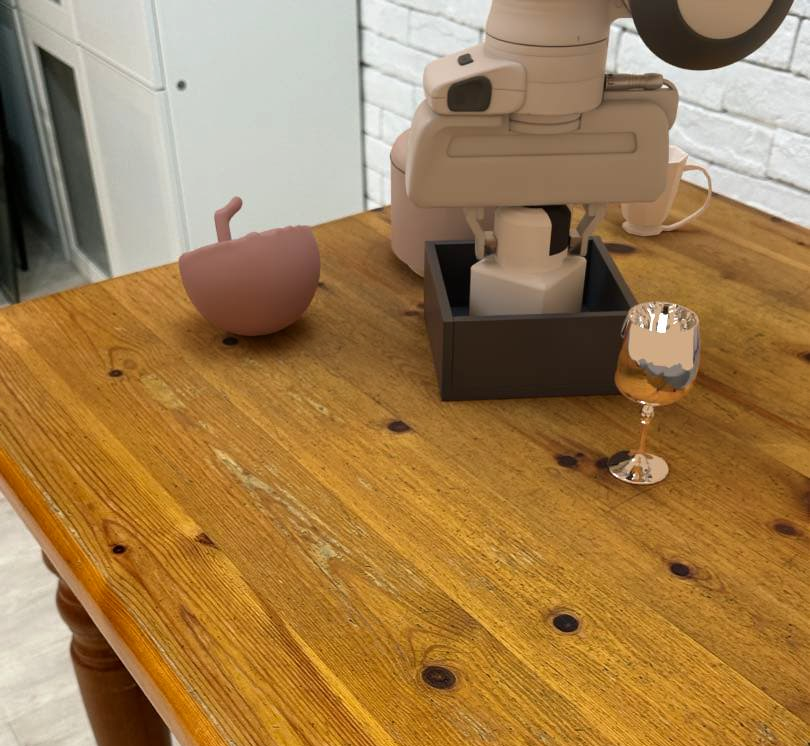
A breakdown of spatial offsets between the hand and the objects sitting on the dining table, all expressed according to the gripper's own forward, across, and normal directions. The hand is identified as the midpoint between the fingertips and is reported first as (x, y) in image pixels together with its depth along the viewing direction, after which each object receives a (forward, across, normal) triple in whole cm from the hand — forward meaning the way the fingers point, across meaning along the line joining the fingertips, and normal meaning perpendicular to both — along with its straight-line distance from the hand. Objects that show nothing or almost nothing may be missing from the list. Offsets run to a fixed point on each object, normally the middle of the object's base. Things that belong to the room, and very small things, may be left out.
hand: (529, 255), depth 85 cm
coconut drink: (+9, +23, -6) cm, 25 cm away
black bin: (+9, 0, 0) cm, 9 cm away
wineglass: (+9, -6, +18) cm, 21 cm away
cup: (+9, -19, -26) cm, 33 cm away
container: (+9, +1, -20) cm, 22 cm away
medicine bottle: (+8, 0, 0) cm, 8 cm away
